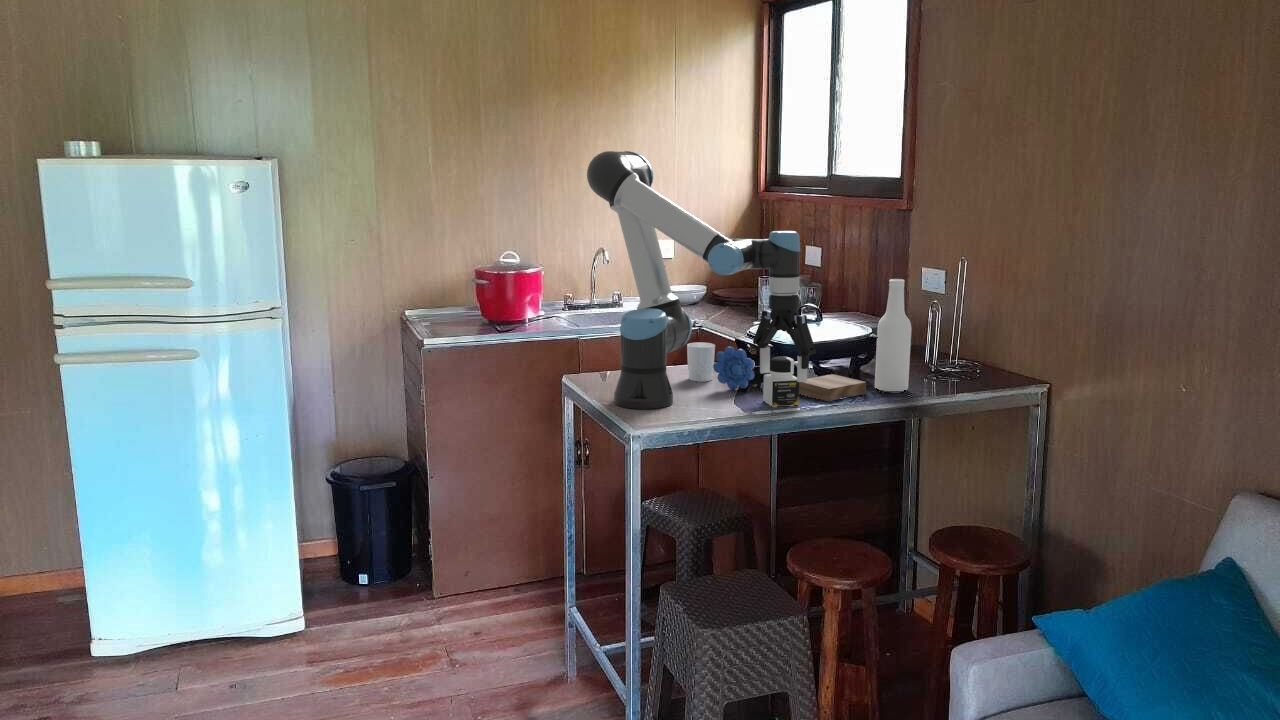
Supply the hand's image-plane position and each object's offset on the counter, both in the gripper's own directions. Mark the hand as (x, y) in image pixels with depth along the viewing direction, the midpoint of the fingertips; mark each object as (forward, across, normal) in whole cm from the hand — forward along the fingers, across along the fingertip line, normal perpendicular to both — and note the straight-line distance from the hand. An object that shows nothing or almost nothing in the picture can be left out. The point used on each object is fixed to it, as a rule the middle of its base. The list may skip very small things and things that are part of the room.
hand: (783, 377), depth 241 cm
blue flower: (+7, +18, 0) cm, 20 cm away
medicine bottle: (+7, 0, 0) cm, 7 cm away
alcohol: (+8, -6, -35) cm, 36 cm away
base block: (+7, 0, -18) cm, 19 cm away
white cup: (+7, +34, -1) cm, 35 cm away
